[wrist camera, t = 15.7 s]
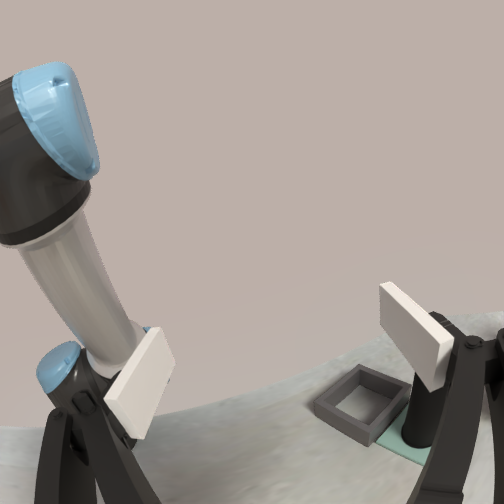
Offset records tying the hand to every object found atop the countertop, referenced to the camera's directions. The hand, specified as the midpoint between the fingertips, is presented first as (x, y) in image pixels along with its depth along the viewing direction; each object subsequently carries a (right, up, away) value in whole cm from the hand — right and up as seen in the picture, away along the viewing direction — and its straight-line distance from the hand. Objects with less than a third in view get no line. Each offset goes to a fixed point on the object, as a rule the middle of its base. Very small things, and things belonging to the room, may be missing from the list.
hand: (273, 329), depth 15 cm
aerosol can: (+27, -25, +16) cm, 40 cm away
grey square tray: (+19, -25, +26) cm, 41 cm away
